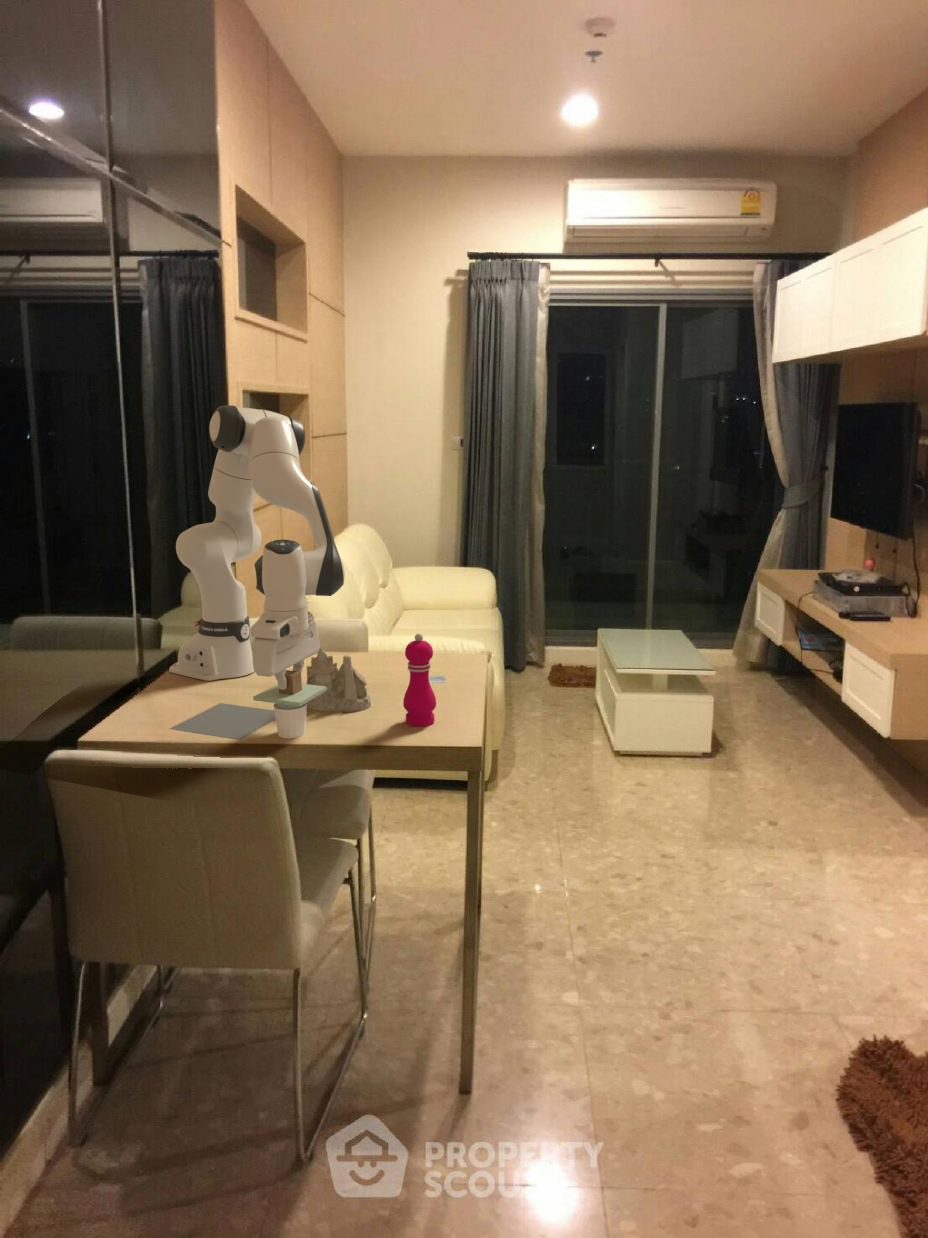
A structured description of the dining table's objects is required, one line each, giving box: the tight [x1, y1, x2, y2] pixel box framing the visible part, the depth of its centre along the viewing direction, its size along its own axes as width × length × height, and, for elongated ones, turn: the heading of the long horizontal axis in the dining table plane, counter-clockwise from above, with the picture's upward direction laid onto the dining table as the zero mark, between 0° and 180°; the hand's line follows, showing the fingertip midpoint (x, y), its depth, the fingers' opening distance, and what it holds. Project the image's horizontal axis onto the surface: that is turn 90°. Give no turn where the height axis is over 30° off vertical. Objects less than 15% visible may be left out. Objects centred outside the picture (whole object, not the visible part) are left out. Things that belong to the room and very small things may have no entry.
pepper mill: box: [402, 633, 437, 728], centre depth 200 cm, size 7×7×20 cm
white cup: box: [273, 703, 308, 739], centre depth 194 cm, size 7×7×7 cm
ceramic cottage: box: [306, 646, 372, 713], centre depth 214 cm, size 16×16×15 cm
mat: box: [169, 702, 276, 741], centre depth 202 cm, size 18×18×1 cm
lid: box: [252, 669, 327, 706], centre depth 192 cm, size 11×11×5 cm
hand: (289, 685), depth 192 cm, fingers closed on lid, 3 cm apart
